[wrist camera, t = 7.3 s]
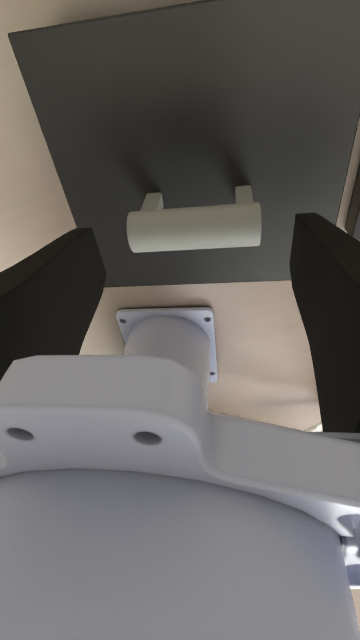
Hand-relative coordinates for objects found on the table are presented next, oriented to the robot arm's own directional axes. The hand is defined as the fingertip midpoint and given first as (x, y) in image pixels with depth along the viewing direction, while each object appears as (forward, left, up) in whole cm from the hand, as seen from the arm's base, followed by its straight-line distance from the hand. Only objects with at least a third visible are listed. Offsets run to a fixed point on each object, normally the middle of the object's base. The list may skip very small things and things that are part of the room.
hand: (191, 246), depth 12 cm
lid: (+1, 0, -5) cm, 5 cm away
